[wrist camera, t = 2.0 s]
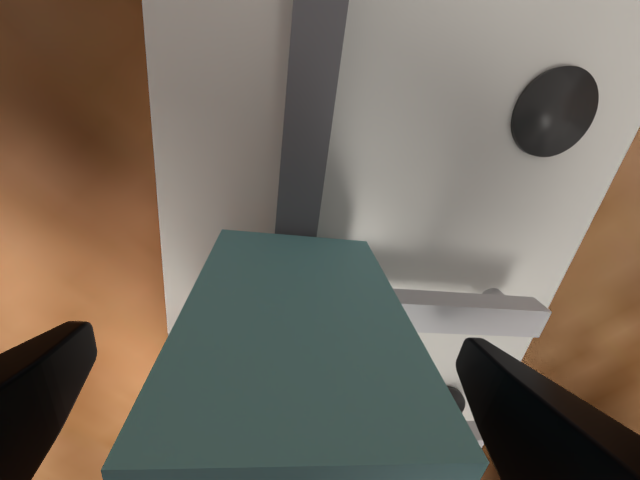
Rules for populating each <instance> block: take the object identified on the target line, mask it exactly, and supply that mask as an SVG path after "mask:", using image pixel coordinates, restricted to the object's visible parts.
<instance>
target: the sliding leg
mask: <svg viewBox="0 0 640 480" xmlns="http://www.w3.org/2000/svg"><path fill="white" fill-rule="evenodd" d="M551 313H552V312H551V311H550V310H549V309H548V308H546V307H545V306H544V305H543V304H542V303H540V302H539V301H538V300H537V299H535V298H534V297H525V296H509V295H504V294H503V293H502V292H501V291H500V290H499V289H497V288H489V289H487V290H485V291H484V292H483V293H482V294H477V293H460V292H444V291H428V290H412V289H396V288H392V286H391V285H390V283H389V281H388V279H387V277H386V276H385V274H384V272H383V270H382V268H381V266H380V265H379V263H378V261H377V259H376V257H375V256H374V254H373V252H372V250H371V248H370V247H369V245H368V243H367V241H357V240H345V239H333V238H321V237H309V236H297V235H285V234H273V233H260V232H248V231H236V230H224V229H222V230H221V232H220V234H219V236H218V238H217V240H216V242H215V244H214V246H213V248H212V250H211V252H210V254H209V256H208V258H207V260H206V262H205V264H204V266H203V268H202V270H201V272H200V274H199V276H198V278H197V280H196V282H195V284H194V286H193V288H192V290H191V292H190V294H189V296H188V298H187V300H186V302H185V304H184V306H183V308H182V310H181V312H180V314H179V316H178V318H177V320H176V322H175V324H174V326H173V328H172V330H171V332H170V334H169V336H168V338H167V340H166V342H165V344H164V346H163V348H162V350H161V352H160V354H159V355H158V357H157V359H156V361H155V363H154V365H153V367H152V369H151V371H150V373H149V375H148V377H147V379H146V381H145V383H144V385H143V387H142V389H141V391H140V393H139V395H138V397H137V399H136V401H135V403H134V405H133V407H132V409H131V411H130V413H129V415H128V417H127V419H126V421H125V423H124V425H123V427H122V429H121V431H120V433H119V435H118V437H117V439H116V441H115V443H114V445H113V447H112V449H111V451H110V453H109V455H108V457H107V459H106V461H105V463H104V465H103V467H102V469H101V473H102V478H103V480H480V479H481V477H482V476H483V474H484V472H485V470H486V468H487V466H488V465H489V461H488V459H487V457H486V456H485V454H484V452H483V450H482V448H481V447H480V445H479V443H478V441H477V439H476V438H475V436H474V434H473V432H472V430H471V429H470V427H469V425H468V423H467V421H466V420H465V418H464V416H463V414H462V412H461V411H460V409H459V407H458V405H457V403H456V402H455V400H454V398H453V396H452V394H451V393H450V391H449V389H448V387H447V385H446V384H445V382H444V380H443V378H442V376H441V375H440V373H439V371H438V369H437V367H436V366H435V364H434V362H433V360H432V358H431V357H430V355H429V353H428V351H427V349H426V348H425V346H424V344H423V342H422V340H421V339H420V337H419V335H418V333H417V332H419V333H443V334H466V335H490V336H514V337H537V338H539V336H540V334H541V332H542V330H543V329H544V327H545V325H546V323H547V321H548V319H549V317H550V315H551Z"/></svg>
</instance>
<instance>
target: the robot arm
mask: <svg viewBox="0 0 640 480" xmlns="http://www.w3.org/2000/svg"><path fill="white" fill-rule="evenodd" d="M96 356H97V347H96V342H95V337H94V332H93V327H92V325H91V324H90V323H89V322H83V321H68V322H65V323H63V324H61V325H59V326H57V327H55V328H53V329H51V330H49V331H47V332H45V333H43V334H40V335H38V336H36V337H34V338H32V339H30V340H28V341H26V342H24V343H22V344H20V345H18V346H16V347H13V348H11V349H9V350H7V351H5V352H3V353H1V354H0V480H31V479H32V478H33V476H34V474H35V473H36V471H37V470H38V468H39V466H40V465H41V463H42V461H43V460H44V458H45V456H46V455H47V453H48V452H49V450H50V448H51V447H52V445H53V443H54V442H55V440H56V438H57V436H58V435H59V433H60V431H61V429H62V428H63V426H64V424H65V422H66V420H67V418H68V416H69V414H70V412H71V410H72V408H73V406H74V403H75V401H76V399H77V397H78V395H79V393H80V391H81V389H82V387H83V385H84V383H85V381H86V379H87V377H88V375H89V373H90V371H91V368H92V366H93V364H94V362H95V360H96ZM456 371H457V374H458V376H459V379H460V382H461V385H462V388H463V390H464V393H465V396H466V399H467V401H468V404H469V407H470V410H471V413H472V415H473V418H474V421H475V423H476V426H477V429H478V431H479V433H480V435H481V438H482V440H483V442H484V444H485V447H486V449H487V451H488V453H489V455H490V457H491V459H492V462H493V464H494V466H495V468H496V470H497V472H498V475H499V477H500V479H501V480H640V435H638V434H637V433H635V432H634V431H632V430H630V429H629V428H627V427H626V426H624V425H622V424H621V423H619V422H617V421H616V420H614V419H613V418H611V417H609V416H608V415H606V414H605V413H603V412H601V411H600V410H598V409H596V408H595V407H593V406H592V405H590V404H588V403H587V402H585V401H584V400H582V399H580V398H579V397H577V396H575V395H574V394H572V393H571V392H569V391H567V390H566V389H564V388H563V387H561V386H559V385H558V384H556V383H555V382H553V381H551V380H550V379H548V378H546V377H545V376H543V375H542V374H540V373H538V372H537V371H535V370H534V369H532V368H530V367H529V366H527V365H525V364H524V363H522V362H521V361H519V360H517V359H516V358H514V357H513V356H511V355H509V354H508V353H506V352H504V351H503V350H501V349H500V348H498V347H496V346H495V345H493V344H492V343H490V342H488V341H487V340H485V339H483V338H475V337H468V338H466V339H465V340H464V342H463V344H462V347H461V349H460V352H459V354H458V357H457V359H456Z"/></svg>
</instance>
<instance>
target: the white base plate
mask: <svg viewBox="0 0 640 480" xmlns="http://www.w3.org/2000/svg"><path fill="white" fill-rule="evenodd" d="M142 9H143V21H144V34H145V47H146V60H147V73H148V86H149V98H150V111H151V124H152V137H153V150H154V162H155V175H156V188H157V201H158V214H159V227H160V239H161V252H162V265H163V278H164V291H165V303H166V316H167V329H168V336H169V334H170V332H171V330H172V328H173V326H174V324H175V322H176V320H177V318H178V316H179V314H180V312H181V310H182V308H183V306H184V304H185V302H186V300H187V298H188V296H189V294H190V292H191V290H192V288H193V286H194V284H195V282H196V280H197V278H198V276H199V274H200V272H201V270H202V268H203V266H204V264H205V262H206V260H207V258H208V256H209V254H210V252H211V250H212V248H213V246H214V244H215V242H216V240H217V238H218V236H219V234H220V232H221V230H222V229H224V230H236V231H248V232H260V233H273V234H285V235H297V236H309V237H321V238H333V239H345V240H357V241H367V243H368V245H369V247H370V248H371V250H372V252H373V254H374V256H375V257H376V259H377V261H378V263H379V265H380V266H381V268H382V270H383V272H384V274H385V276H386V277H387V279H388V281H389V283H390V285H391V286H392V288H396V289H412V290H428V291H444V292H460V293H477V294H482V293H483V292H484V291H485V290H487V289H489V288H497V289H499V290H500V291H501V292H502V293H503V294H504V295H509V296H525V297H534V298H535V299H537V300H538V301H539V302H540V303H542V304H543V305H544V306H545V307H546V308H548V307H549V305H550V303H551V301H552V299H553V297H554V295H555V293H556V291H557V289H558V287H559V285H560V283H561V281H562V279H563V277H564V275H565V273H566V271H567V269H568V267H569V265H570V263H571V261H572V259H573V257H574V255H575V253H576V251H577V250H578V248H579V246H580V244H581V242H582V240H583V238H584V236H585V234H586V232H587V230H588V228H589V226H590V224H591V222H592V220H593V218H594V216H595V214H596V212H597V210H598V208H599V206H600V204H601V202H602V200H603V198H604V196H605V194H606V192H607V190H608V188H609V186H610V184H611V182H612V180H613V178H614V176H615V174H616V172H617V170H618V168H619V166H620V164H621V163H622V161H623V159H624V157H625V155H626V153H627V151H628V149H629V147H630V145H631V143H632V141H633V139H634V137H635V135H636V133H637V131H638V129H639V127H640V0H142ZM417 333H418V335H419V337H420V339H421V340H422V342H423V344H424V346H425V348H426V349H427V351H428V353H429V355H430V357H431V358H432V360H433V362H434V364H435V366H436V367H437V369H438V371H439V373H440V375H441V376H442V378H443V380H444V382H445V384H446V385H447V387H448V389H449V391H450V393H451V394H452V396H453V398H454V400H455V402H456V403H457V405H458V407H459V409H460V411H461V412H462V414H463V416H464V418H465V420H466V421H467V423H468V425H469V427H470V429H471V430H472V432H473V434H474V436H475V438H476V439H477V441H478V443H479V445H480V447H481V448H482V447H483V445H484V442H483V440H482V438H481V435H480V433H479V431H478V429H477V426H476V423H475V421H474V418H473V415H472V413H471V410H470V407H469V404H468V401H467V399H466V396H465V393H464V390H463V388H462V385H461V382H460V379H459V376H458V374H457V371H456V359H457V357H458V354H459V352H460V349H461V347H462V344H463V342H464V340H465V339H466V338H468V337H475V338H483V339H485V340H487V341H488V342H490V343H492V344H493V345H495V346H496V347H498V348H500V349H501V350H503V351H504V352H506V353H508V354H509V355H511V356H513V357H514V358H516V359H517V360H519V361H521V360H522V358H523V356H524V354H525V352H526V350H527V348H528V346H529V344H530V342H531V340H532V338H533V337H514V336H490V335H466V334H443V333H419V332H417Z"/></svg>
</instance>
